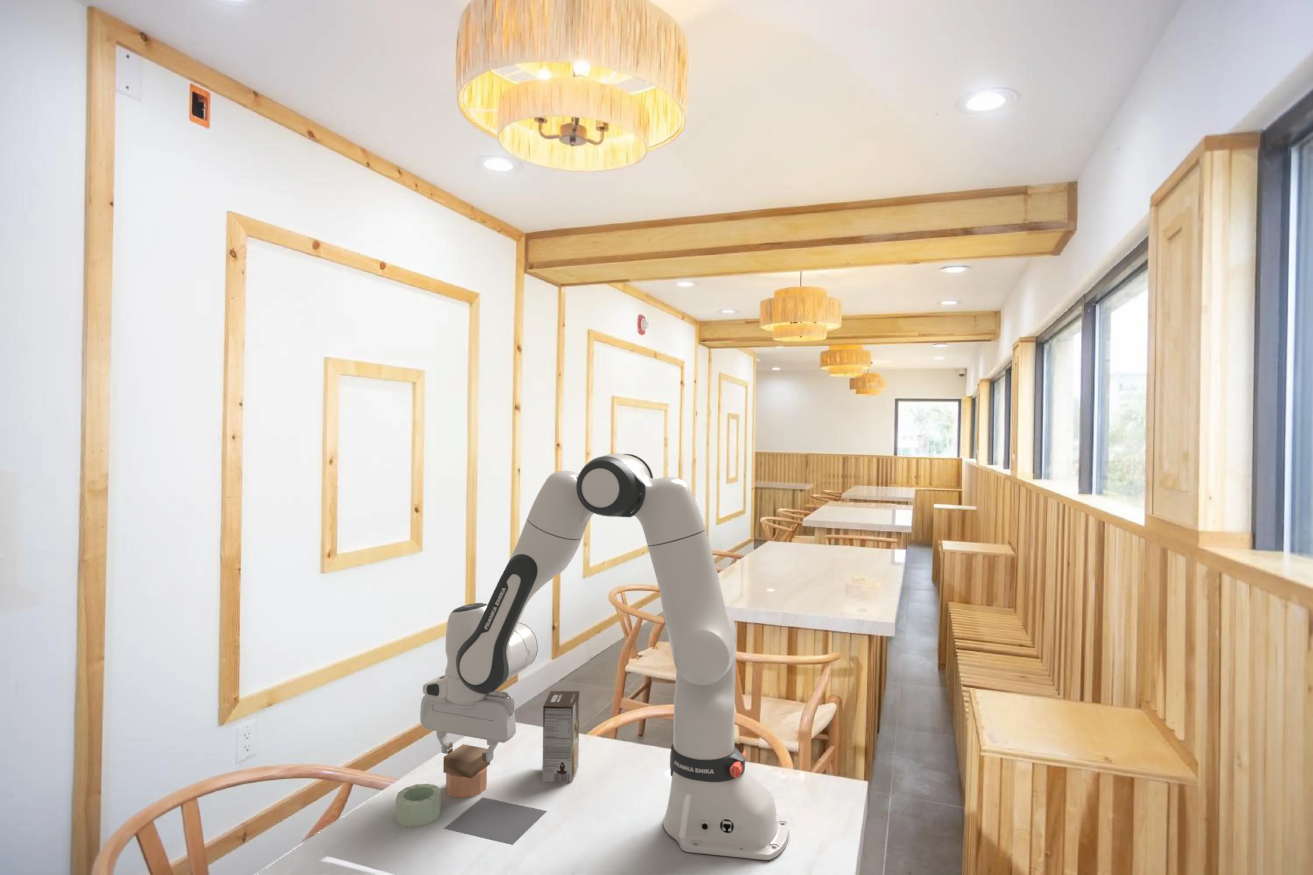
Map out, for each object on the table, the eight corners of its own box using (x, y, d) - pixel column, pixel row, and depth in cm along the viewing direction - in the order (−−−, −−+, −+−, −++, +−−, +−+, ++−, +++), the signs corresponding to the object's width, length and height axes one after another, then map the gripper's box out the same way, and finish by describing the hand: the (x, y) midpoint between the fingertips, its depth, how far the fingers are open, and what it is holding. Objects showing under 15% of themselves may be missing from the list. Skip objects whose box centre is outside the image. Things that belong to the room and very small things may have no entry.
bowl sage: (448, 812, 135) (449, 788, 135) (422, 832, 128) (422, 807, 128) (414, 804, 138) (415, 780, 138) (387, 824, 130) (387, 799, 130)
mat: (546, 814, 135) (547, 810, 135) (512, 847, 124) (512, 844, 124) (482, 800, 140) (482, 796, 140) (443, 831, 128) (443, 827, 128)
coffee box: (549, 764, 155) (550, 689, 155) (578, 765, 155) (580, 690, 155) (541, 785, 146) (542, 705, 146) (573, 785, 146) (574, 705, 146)
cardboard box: (490, 764, 145) (490, 749, 145) (471, 777, 139) (471, 762, 139) (462, 758, 147) (463, 743, 147) (443, 772, 141) (443, 756, 141)
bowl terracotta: (493, 785, 145) (494, 763, 146) (471, 803, 138) (472, 779, 138) (461, 778, 148) (462, 756, 148) (438, 796, 141) (438, 772, 141)
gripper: (522, 688, 143) (521, 758, 143) (435, 675, 150) (434, 742, 150) (505, 698, 137) (504, 772, 137) (415, 684, 144) (414, 754, 144)
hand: (467, 756), depth 143 cm, fingers open, 8 cm apart
